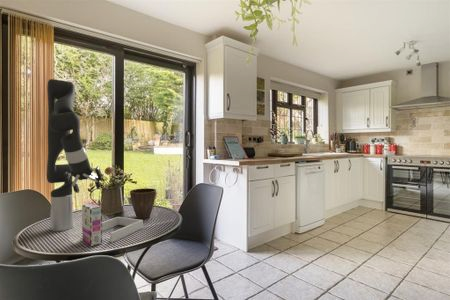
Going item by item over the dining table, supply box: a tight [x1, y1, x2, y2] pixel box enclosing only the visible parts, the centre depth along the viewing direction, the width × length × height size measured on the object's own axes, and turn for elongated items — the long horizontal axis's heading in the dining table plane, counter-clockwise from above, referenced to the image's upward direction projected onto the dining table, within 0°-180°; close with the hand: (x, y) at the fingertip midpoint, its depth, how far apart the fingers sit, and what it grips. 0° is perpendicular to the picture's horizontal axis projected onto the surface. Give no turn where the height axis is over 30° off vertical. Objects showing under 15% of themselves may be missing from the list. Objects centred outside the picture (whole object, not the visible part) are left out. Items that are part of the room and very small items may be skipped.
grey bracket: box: [102, 216, 144, 243], centre depth 120 cm, size 17×20×4 cm
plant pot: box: [129, 187, 157, 220], centre depth 145 cm, size 15×15×16 cm
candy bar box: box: [81, 202, 103, 247], centre depth 108 cm, size 11×5×16 cm, turn 47°
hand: (88, 190), depth 111 cm, fingers open, 8 cm apart
